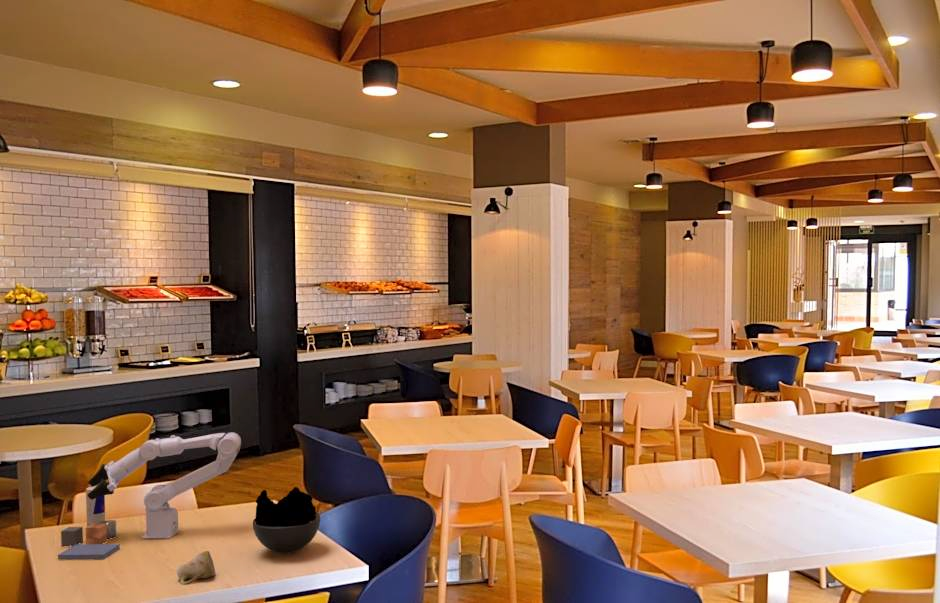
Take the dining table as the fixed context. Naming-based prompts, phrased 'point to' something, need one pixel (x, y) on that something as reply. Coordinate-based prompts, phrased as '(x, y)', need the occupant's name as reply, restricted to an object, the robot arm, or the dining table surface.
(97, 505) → the grey blue tall box
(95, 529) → the terracotta block
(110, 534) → the grey cube
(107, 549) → the blue-grey rectangular slab
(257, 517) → the bowl of black rocks
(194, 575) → the beige lumpy soft piece
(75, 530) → the black rubber block
